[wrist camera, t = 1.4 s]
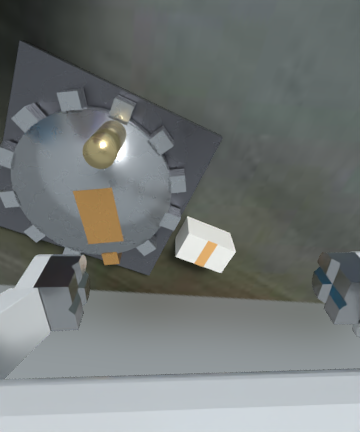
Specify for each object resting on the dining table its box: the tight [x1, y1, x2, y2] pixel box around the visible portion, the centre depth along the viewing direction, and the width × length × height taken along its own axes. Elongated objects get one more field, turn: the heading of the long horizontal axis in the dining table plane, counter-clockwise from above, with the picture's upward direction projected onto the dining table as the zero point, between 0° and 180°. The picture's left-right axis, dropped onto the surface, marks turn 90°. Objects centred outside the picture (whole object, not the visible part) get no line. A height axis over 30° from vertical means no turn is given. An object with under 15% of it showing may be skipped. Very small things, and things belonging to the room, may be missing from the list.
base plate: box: [0, 40, 222, 275], centre depth 32 cm, size 20×20×1 cm
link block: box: [175, 216, 236, 273], centre depth 35 cm, size 6×4×4 cm, turn 65°
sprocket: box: [0, 88, 186, 265], centre depth 27 cm, size 19×19×8 cm
